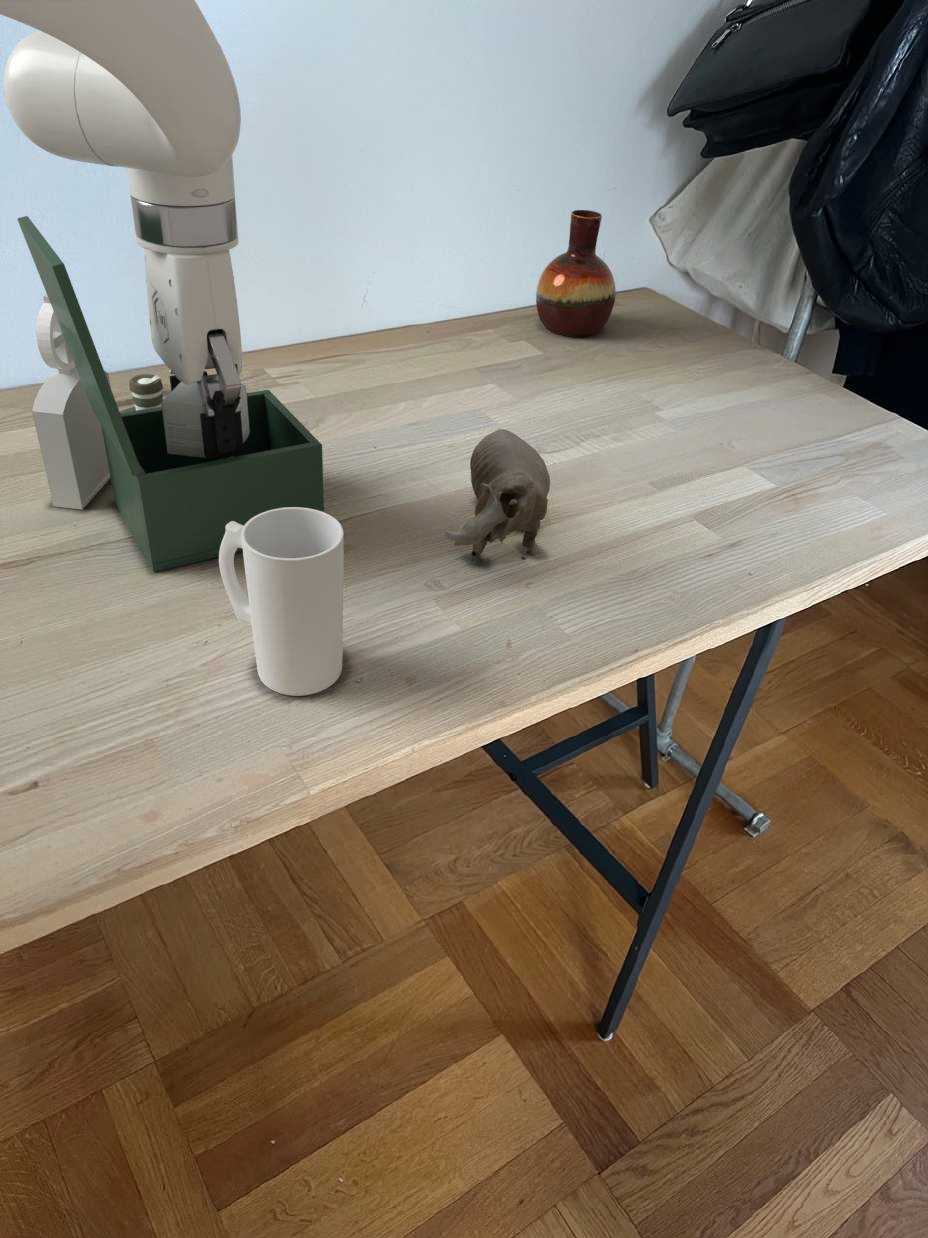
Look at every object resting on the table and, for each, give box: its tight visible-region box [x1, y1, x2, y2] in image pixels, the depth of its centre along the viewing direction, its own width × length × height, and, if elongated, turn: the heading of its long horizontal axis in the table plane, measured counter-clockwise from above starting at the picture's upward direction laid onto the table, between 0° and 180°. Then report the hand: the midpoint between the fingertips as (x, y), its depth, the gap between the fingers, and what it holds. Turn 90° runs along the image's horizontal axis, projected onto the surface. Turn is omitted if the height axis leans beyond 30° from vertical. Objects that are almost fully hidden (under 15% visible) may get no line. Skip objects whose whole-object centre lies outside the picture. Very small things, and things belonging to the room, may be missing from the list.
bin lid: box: [17, 215, 142, 476], centre depth 71 cm, size 16×13×1 cm
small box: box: [161, 381, 250, 460], centre depth 79 cm, size 6×6×5 cm
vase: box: [535, 209, 617, 338], centre depth 128 cm, size 11×11×15 cm
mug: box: [218, 507, 345, 697], centre depth 66 cm, size 10×7×12 cm, turn 62°
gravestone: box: [31, 293, 112, 511], centre depth 84 cm, size 3×9×18 cm, turn 174°
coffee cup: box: [119, 373, 164, 413], centre depth 99 cm, size 12×12×5 cm
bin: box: [101, 389, 325, 573], centre depth 83 cm, size 16×13×9 cm
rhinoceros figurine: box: [444, 428, 551, 567], centre depth 83 cm, size 8×14×15 cm
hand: (208, 434), depth 80 cm, fingers closed on small box, 7 cm apart
